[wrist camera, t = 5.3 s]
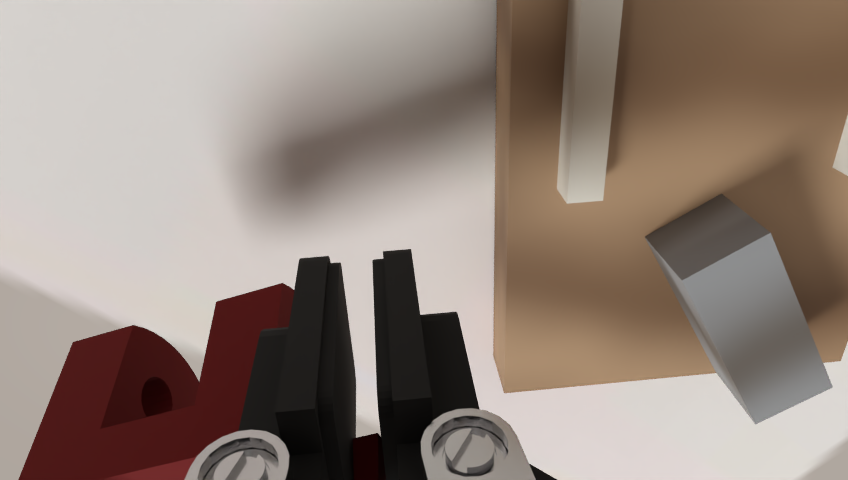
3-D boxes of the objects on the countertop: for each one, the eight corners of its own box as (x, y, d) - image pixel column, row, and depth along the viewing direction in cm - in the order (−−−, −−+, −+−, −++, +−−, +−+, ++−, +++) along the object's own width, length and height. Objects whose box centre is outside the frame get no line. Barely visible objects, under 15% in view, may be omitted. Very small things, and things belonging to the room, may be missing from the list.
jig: (502, -508, 12) (566, -701, 8) (1062, -517, 13) (1366, -702, 9) (493, 356, 23) (520, 449, 19) (804, 327, 24) (893, 411, 20)
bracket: (432, 553, 12) (-2, 636, 14) (413, 317, 16) (80, 404, 18) (378, 499, 10) (-121, 604, 12) (373, 246, 14) (2, 351, 16)
